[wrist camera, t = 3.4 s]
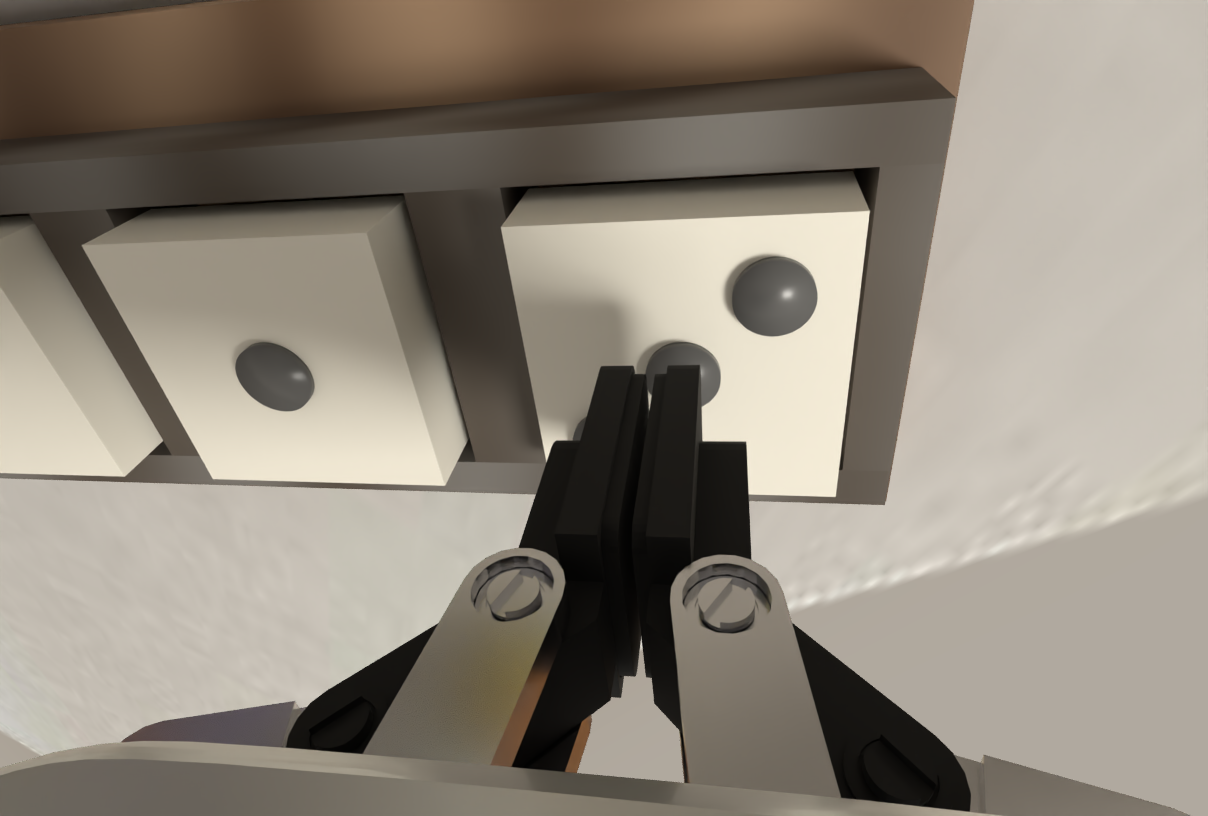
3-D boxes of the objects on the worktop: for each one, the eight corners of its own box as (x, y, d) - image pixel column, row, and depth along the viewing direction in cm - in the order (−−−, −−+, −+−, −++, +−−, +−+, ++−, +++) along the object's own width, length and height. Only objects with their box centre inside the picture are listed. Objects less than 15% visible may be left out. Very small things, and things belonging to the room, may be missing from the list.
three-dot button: (853, 171, 12) (871, 215, 11) (825, 436, 16) (836, 503, 14) (528, 188, 14) (497, 231, 12) (569, 433, 17) (549, 495, 15)
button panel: (957, -86, 13) (1043, -81, 9) (874, 454, 20) (903, 572, 17) (-168, 44, 18) (-395, 80, 14) (95, 440, 25) (-12, 529, 22)
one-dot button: (408, 195, 14) (361, 236, 12) (471, 432, 17) (442, 491, 16) (150, 208, 15) (73, 249, 13) (258, 429, 19) (207, 484, 17)
